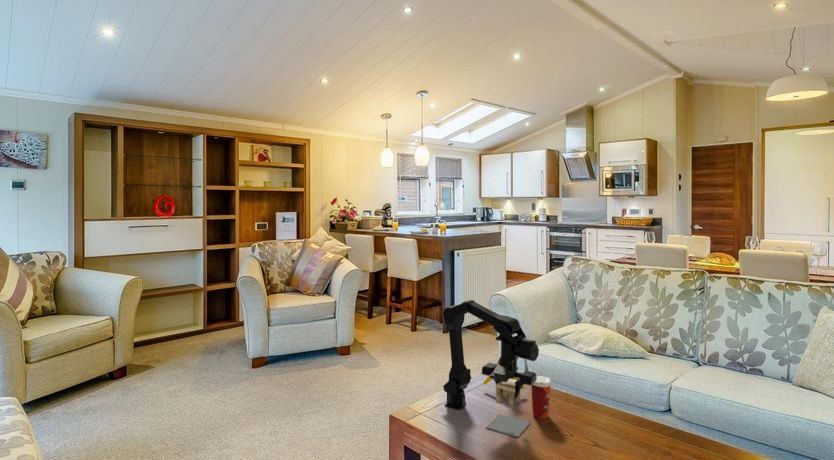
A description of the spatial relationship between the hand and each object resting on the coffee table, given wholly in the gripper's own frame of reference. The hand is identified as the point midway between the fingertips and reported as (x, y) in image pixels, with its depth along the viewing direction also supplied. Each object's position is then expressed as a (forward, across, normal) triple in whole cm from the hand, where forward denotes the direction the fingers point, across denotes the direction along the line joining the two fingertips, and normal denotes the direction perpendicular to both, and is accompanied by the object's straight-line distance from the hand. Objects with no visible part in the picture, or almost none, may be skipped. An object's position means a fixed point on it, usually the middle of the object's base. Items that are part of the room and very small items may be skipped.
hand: (508, 396), depth 163 cm
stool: (+2, 0, 0) cm, 2 cm away
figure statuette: (+11, -13, +26) cm, 31 cm away
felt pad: (+11, 0, 0) cm, 11 cm away
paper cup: (+11, +7, +14) cm, 19 cm away
